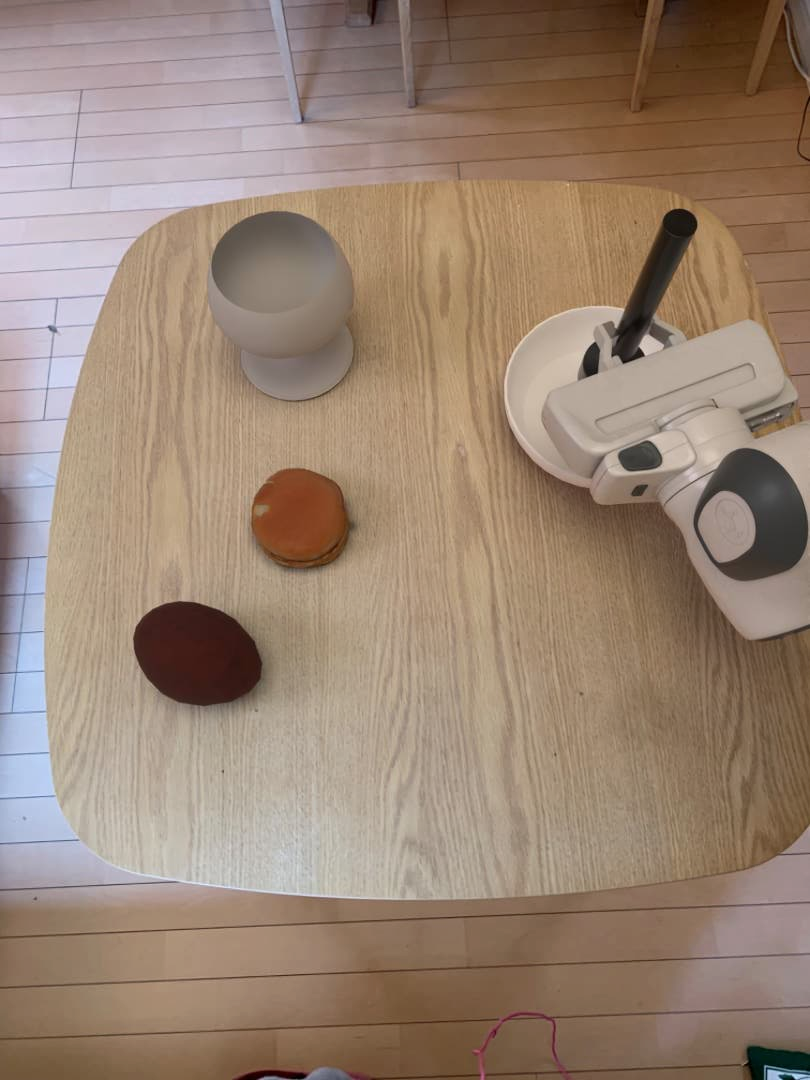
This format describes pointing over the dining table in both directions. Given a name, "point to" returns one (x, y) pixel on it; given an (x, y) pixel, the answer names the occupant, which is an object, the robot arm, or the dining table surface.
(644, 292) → the rod on round base
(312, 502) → the burger
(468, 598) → the dining table surface
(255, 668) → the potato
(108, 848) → the dining table surface
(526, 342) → the bowl
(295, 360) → the chalice
